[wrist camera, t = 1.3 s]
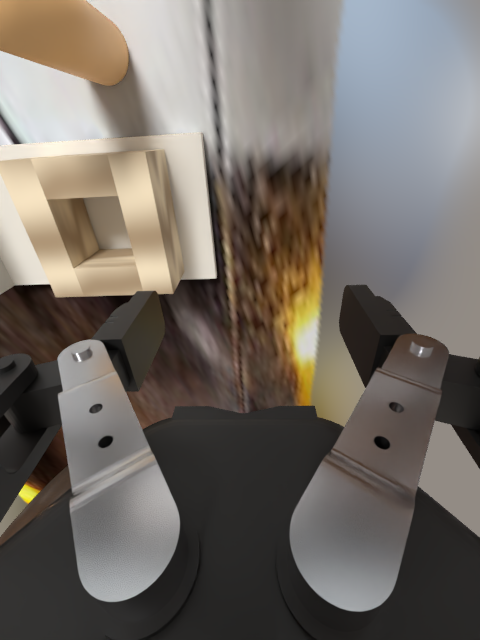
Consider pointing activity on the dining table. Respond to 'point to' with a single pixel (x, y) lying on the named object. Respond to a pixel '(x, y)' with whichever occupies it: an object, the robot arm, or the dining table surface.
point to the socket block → (75, 227)
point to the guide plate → (117, 206)
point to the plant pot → (40, 502)
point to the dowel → (64, 38)
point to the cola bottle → (4, 425)
